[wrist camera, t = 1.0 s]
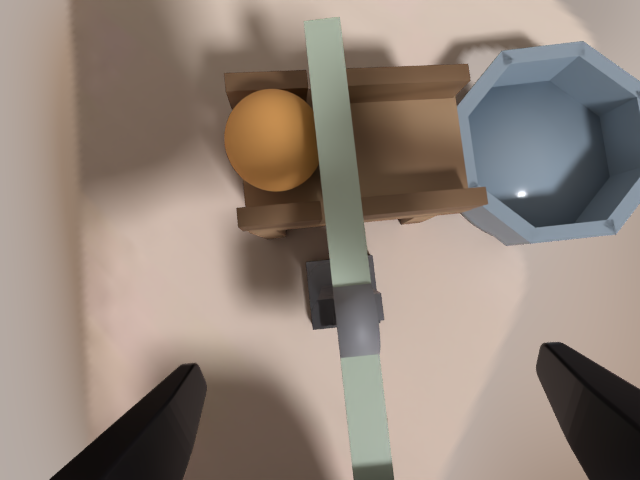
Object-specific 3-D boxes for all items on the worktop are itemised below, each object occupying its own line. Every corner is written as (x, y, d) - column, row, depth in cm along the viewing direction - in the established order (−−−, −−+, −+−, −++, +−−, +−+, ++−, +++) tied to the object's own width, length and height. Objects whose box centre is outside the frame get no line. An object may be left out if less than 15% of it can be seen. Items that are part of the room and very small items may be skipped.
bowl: (624, 232, 20) (676, 228, 17) (450, 251, 20) (471, 249, 17) (595, 67, 21) (640, 34, 18) (427, 86, 21) (444, 57, 18)
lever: (416, 504, 14) (471, 659, 9) (324, 513, 14) (322, 671, 9) (365, 87, 15) (386, -9, 10) (282, 97, 15) (256, 7, 10)
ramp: (444, 219, 20) (506, 197, 13) (266, 239, 20) (233, 227, 13) (430, 117, 21) (483, 42, 14) (256, 137, 21) (219, 73, 14)
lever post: (378, 320, 20) (410, 358, 12) (313, 326, 20) (304, 368, 12) (370, 255, 20) (397, 251, 12) (306, 262, 20) (293, 262, 12)
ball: (324, 196, 15) (334, 172, 11) (238, 203, 15) (218, 181, 11) (315, 114, 16) (321, 63, 12) (231, 120, 15) (208, 69, 11)
